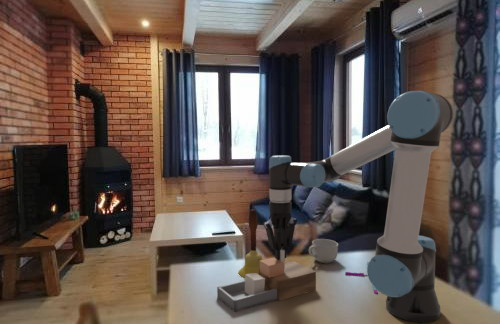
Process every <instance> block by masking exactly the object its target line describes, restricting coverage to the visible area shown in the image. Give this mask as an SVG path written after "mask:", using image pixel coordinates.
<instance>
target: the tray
mask: <svg viewBox="0 0 500 324" xmlns="http://www.w3.org/2000/svg"><path fill="white" fill-rule="evenodd" d="M216 291H217V299H219V300H220V301H221V302H223V303H224V305H226V306H227V307H228V308H230V309H231V311H233V312H234V313H235V312H239V311H243V310H245V309H250V308H252V307H253V308H254V307H257V306H259V305H263V304H267V303H271V302H273V301H277V300H278V299H277V289H276V288H275V289H271V290H268V291H266V290H264V292H260V293H257V294H253V295H248V294H247V293H245V279H244V280H240V281H237V282H232V283H229V284H224V285H221V286H216Z"/></svg>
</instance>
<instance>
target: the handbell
mask: <svg viewBox="0 0 500 324" xmlns="http://www.w3.org/2000/svg"><path fill="white" fill-rule="evenodd" d="M248 228H249V232H250V251H249V252H248V253H247V254H246V255H245V257H244V265H243V266H242V267H241V268H240V269H239V270H238V273H237V274H239V275H240V276H241V278H242V277H243V278H244V279H245V274H251V273H257V274H258V275H259V269H260V260H263V256H262V254H261V253H259V252H258V251H257V229H258V214H257V210H256V209H254V208H252V209H250V210H249V216H248ZM239 275H238V276H239ZM240 276H239V277H240Z"/></svg>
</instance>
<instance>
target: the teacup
mask: <svg viewBox="0 0 500 324" xmlns="http://www.w3.org/2000/svg"><path fill="white" fill-rule="evenodd" d="M311 243H312V244H311V245H310V246H309V248H308V254H309V255H310V256H312V257H313V258H314V260H315V261H317V262H319V263H322V264H330V263H333V262H334V261H335V260H336V259H337V257H338V251H339V243H338V242H336V241H335V240H333V239H327V238H317V239H314V240H312V241H311Z"/></svg>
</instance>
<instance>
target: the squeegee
mask: <svg viewBox="0 0 500 324" xmlns="http://www.w3.org/2000/svg"><path fill="white" fill-rule="evenodd" d="M369 262H370V261H367V263H366V265H367V267H368V264H369ZM344 273H345V274H344V275H345V276H349V277H350V276H353V277H354V276H355V277H368V274H365V273H364V272H350V271H345V272H344ZM371 284H372V283H371ZM371 286H372V289H373V293H374V294H375V295H378V294H379V293H378V292H379V291H378V290H377V289H376V288H375V287H374V285H373V284H372V285H371Z"/></svg>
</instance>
